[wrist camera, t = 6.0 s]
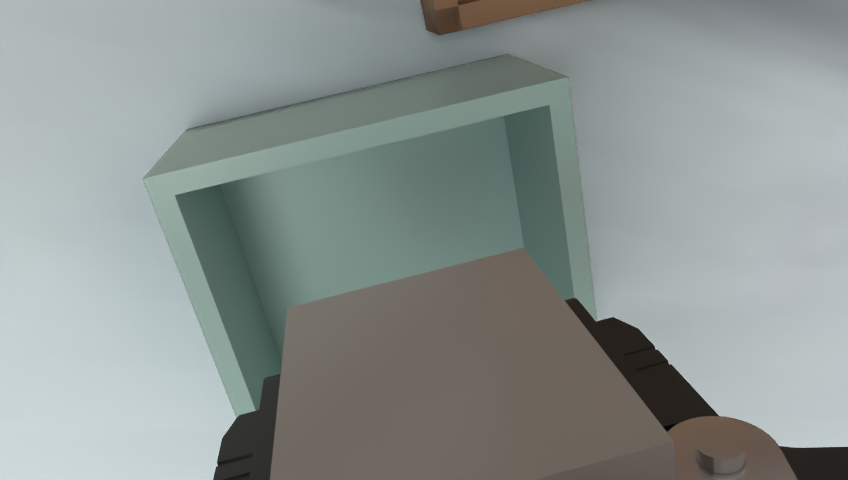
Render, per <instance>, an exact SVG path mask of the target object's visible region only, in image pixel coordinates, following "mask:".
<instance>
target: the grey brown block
mask: <svg viewBox="0 0 848 480" xmlns="http://www.w3.org/2000/svg"><path fill="white" fill-rule="evenodd" d="M270 480H677V479H676V465H675V451H674V441H673V439H672V438H671V437H670V436H669V434H668V433H667V432H666V430H665V429H664V428H663V427H662V425H661V424H660V423H659V421H658V420H657V419H656V418H655V416H654V415H653V414H652V412H651V411H650V410H649V408H648V407H647V406H646V405H645V403H644V402H643V401H642V399H641V398H640V397H639V396H638V394H637V393H636V392H635V390H634V389H633V388H632V387H631V385H630V384H629V383H628V381H627V380H626V379H625V378H624V376H623V375H622V374H621V372H620V371H619V370H618V369H617V367H616V366H615V365H614V363H613V362H612V361H611V360H610V358H609V357H608V356H607V354H606V353H605V352H604V351H603V349H602V348H601V347H600V345H599V344H598V343H597V342H596V340H595V339H594V338H593V336H592V335H591V334H590V333H589V331H588V330H587V329H586V327H585V326H584V325H583V324H582V322H581V321H580V320H579V318H578V317H577V316H576V315H575V313H574V312H573V311H572V309H571V308H570V307H569V306H568V304H567V303H566V302H565V300H564V299H563V298H562V297H561V295H560V294H559V293H558V291H557V290H556V289H555V288H554V286H553V285H552V284H551V282H550V281H549V280H548V279H547V277H546V276H545V275H544V273H543V272H542V271H541V270H540V268H539V267H538V266H537V264H536V263H535V262H534V261H533V259H532V258H531V257H530V255H529V254H528V253H527V251H526V250H525V249H524V248H520V249H516V250H512V251H508V252H504V253H500V254H496V255H492V256H488V257H484V258H480V259H476V260H473V261H469V262H465V263H461V264H457V265H453V266H449V267H445V268H441V269H437V270H433V271H429V272H425V273H421V274H418V275H414V276H410V277H406V278H402V279H398V280H394V281H390V282H386V283H382V284H378V285H374V286H370V287H366V288H363V289H359V290H355V291H351V292H347V293H343V294H339V295H335V296H331V297H327V298H323V299H319V300H315V301H312V302H308V303H304V304H300V305H296V306H292V307H288V308H287V317H286V327H285V337H284V346H283V356H282V366H281V376H280V386H279V395H278V405H277V415H276V425H275V435H274V444H273V454H272V464H271V474H270Z"/></svg>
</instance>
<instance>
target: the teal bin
mask: <svg viewBox="0 0 848 480" xmlns="http://www.w3.org/2000/svg"><path fill="white" fill-rule="evenodd" d="M143 181H144V184H145V187H146V189H147V192H148V194H149V197H150V199H151V202H152V204H153V207H154V209H155V212H156V214H157V217H158V220H159V222H160V225H161V227H162V230H163V232H164V235H165V237H166V240H167V242H168V245H169V248H170V250H171V253H172V255H173V258H174V260H175V263H176V265H177V268H178V270H179V273H180V275H181V278H182V281H183V283H184V286H185V288H186V291H187V293H188V296H189V298H190V301H191V303H192V306H193V309H194V311H195V314H196V316H197V319H198V321H199V324H200V326H201V329H202V331H203V334H204V336H205V339H206V342H207V344H208V347H209V349H210V352H211V354H212V357H213V359H214V362H215V364H216V367H217V369H218V372H219V375H220V377H221V380H222V382H223V385H224V387H225V390H226V392H227V395H228V397H229V400H230V403H231V405H232V408H233V410H234V413H235V415H236V418H237V417H238V416H239V415H242V414H245V413H249V412H253V411H257V410H259V407H260V400H261V393H262V386H263V381H264V378H266V377H270V376H274V375H278V374H281V366H282V356H283V346H284V337H285V327H286V317H287V308H288V307H292V306H296V305H300V304H304V303H308V302H312V301H315V300H319V299H323V298H327V297H331V296H335V295H339V294H343V293H347V292H351V291H355V290H359V289H363V288H366V287H370V286H374V285H378V284H382V283H386V282H390V281H394V280H398V279H402V278H406V277H410V276H414V275H418V274H421V273H425V272H429V271H433V270H437V269H441V268H445V267H449V266H453V265H457V264H461V263H465V262H469V261H473V260H476V259H480V258H484V257H488V256H492V255H496V254H500V253H504V252H508V251H512V250H516V249H520V248H524V249H525V250H526V251H527V253H528V254H529V255H530V257H531V258H532V259H533V261H534V262H535V263H536V264H537V266H538V267H539V268H540V270H541V271H542V272H543V273H544V275H545V276H546V277H547V279H548V280H549V281H550V282H551V284H552V285H553V286H554V288H555V289H556V290H557V291H558V293H559V294H560V295H561V297H562V298H563V299H564V300H567V299H571V298H576V299H578V300H579V302H580V303H581V304H582V305H583V306H584V308H585V309H586V310H587V311H588V312H589V314H590V315H591V316H592V317H593V319H594V320H595V321H596V322H597V318H596V310H595V301H594V292H593V284H592V275H591V267H590V258H589V249H588V241H587V232H586V224H585V215H584V206H583V198H582V189H581V181H580V172H579V163H578V155H577V146H576V137H575V129H574V120H573V112H572V103H571V94H570V86H569V77H567V76H564V75H562V74H559V73H556V72H554V71H551V70H548V69H546V68H543V67H540V66H538V65H535V64H532V63H529V62H527V61H524V60H521V59H519V58H516V57H513V56H511V55H508V54H506V55H501V56H497V57H493V58H489V59H484V60H480V61H476V62H472V63H467V64H463V65H459V66H455V67H450V68H446V69H442V70H438V71H433V72H429V73H425V74H421V75H416V76H412V77H408V78H404V79H399V80H395V81H391V82H387V83H382V84H378V85H374V86H370V87H365V88H361V89H357V90H353V91H348V92H344V93H340V94H336V95H331V96H327V97H323V98H319V99H314V100H310V101H306V102H302V103H297V104H293V105H289V106H284V107H280V108H276V109H272V110H267V111H263V112H259V113H255V114H250V115H246V116H242V117H238V118H233V119H229V120H225V121H221V122H216V123H212V124H208V125H204V126H199V127H195V128H191V129H187V130H186V131H185V132H184V133H183V134H182V135H181V136H180V137H179V139H178V140H177V141H176V142H175V143H174V144H173V145H172V146H171V147H170V149H169V150H168V151H167V152H166V153H165V154H164V155H163V156H162V157H161V159H160V160H159V161H158V162H157V163H156V164H155V165H154V166H153V168H152V169H151V170H150V171H149V172H148V173H147V174H146V175H145V176H144V178H143Z"/></svg>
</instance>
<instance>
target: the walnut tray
mask: <svg viewBox="0 0 848 480" xmlns="http://www.w3.org/2000/svg"><path fill="white" fill-rule="evenodd" d="M585 1H589V0H421V5H422V10H423V15H424V20H425V25H426V30H429V31H431V32H433V33H436V34H438V35H442V34H447V33H451V32H455V31H460V30H464V29H468V28H473V27H477V26H481V25H486V24H490V23H494V22H499V21H503V20H507V19H511V18H516V17H520V16H524V15H529V14H533V13H537V12H542V11H546V10H550V9H555V8H559V7H563V6H568V5H572V4H576V3H581V2H585Z"/></svg>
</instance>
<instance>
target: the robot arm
mask: <svg viewBox="0 0 848 480" xmlns="http://www.w3.org/2000/svg"><path fill="white" fill-rule="evenodd" d="M565 302H566V303H567V304H568V306H569V307H570V308H571V309H572V311H573V312H574V313H575V315H576V316H577V317H578V318H579V320H580V321H581V322H582V324H583V325H584V326H585V327H586V329H587V330H588V331H589V333H590V334H591V335H592V336H593V338H594V339H595V340H596V342H597V343H598V344H599V345H600V347H601V348H602V349H603V351H604V352H605V353H606V354H607V356H608V357H609V358H610V360H611V361H612V362H613V363H614V365H615V366H616V367H617V369H618V370H619V371H620V372H621V374H622V375H623V376H624V378H625V379H626V380H627V381H628V383H629V384H630V385H631V387H632V388H633V389H634V390H635V392H636V393H637V394H638V396H639V397H640V398H641V399H642V401H643V402H644V403H645V405H646V406H647V407H648V408H649V410H650V411H651V412H652V414H653V415H654V416H655V418H656V419H657V420H658V421H659V423H660V424H661V425H662V427H663V428H664V429H665V430H666V432H667V433H668V434H669V436H670V437H671V438H672V439H673V441H674V451H675V465H676V479H677V480H848V447H824V448H790V447H782V446H778V444H777V443H776V441H775V440H774V439H773V438H772V437H771V436H770V435H768V434H767V433H766V432H764V431H763V430H761V429H759V428H758V427H756V426H754V425H752V424H749V423H747V422H744V421H741V420H738V419H734V418H729V417H721V416H719V415H718V414H717V413H716V412H715V411H714V410H713V409H712V408H711V407H710V406H709V405H708V404H707V403H706V401H705V400H704V399H703V398H702V397H701V396H700V395H699V394H698V393H697V392H696V391H695V390H694V388H693V387H692V386H691V385H690V384H689V383H688V382H687V381H686V380H685V379H684V378H683V377H682V375H681V374H680V373H679V372H678V371H677V370H676V369H675V368H674V367H673V366H672V365H669V364H668V360H667V359H666V358H665V357H664V356H663V355H662V354H661V353H660V352H659V351H658V350H655V347H654V345H653V344H652V343H651V342H650V341H649V340H648V339H647V338H646V337H645V336H644V334H643V333H642V332H641V331H640V330H639V329H637V328H635V327H633V326H631V325H629V324H627V323H625V322H622V321H620V320H618V319H616V318H614V317H612V318H608V319H604V320H601V321H597V322H596V321H595V320H594V319H593V317H592V316H591V315H590V314H589V312H588V311H587V310H586V309H585V308H584V306H583V305H582V304H581V303H580V302H579V300H578V299H576V298H571V299H567V300H565ZM280 376H281V374H278V375H274V376H270V377H266V378H264V381H263V386H262V393H261V400H260V407H259V410H257V411H253V412H249V413H245V414H242V415H239V416H238V417H237V419H236V420H235V421H234V423H233V424H232V426H231V427H230V428H229V430H228V431H227V433H226V434H225V435H224V437H223V438H222V442H221V447H220V451H219V456H218V460H217V464H218V467H216V470H215V474H214V479H213V480H270V474H271V464H272V454H273V444H274V435H275V425H276V415H277V405H278V395H279V386H280Z"/></svg>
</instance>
